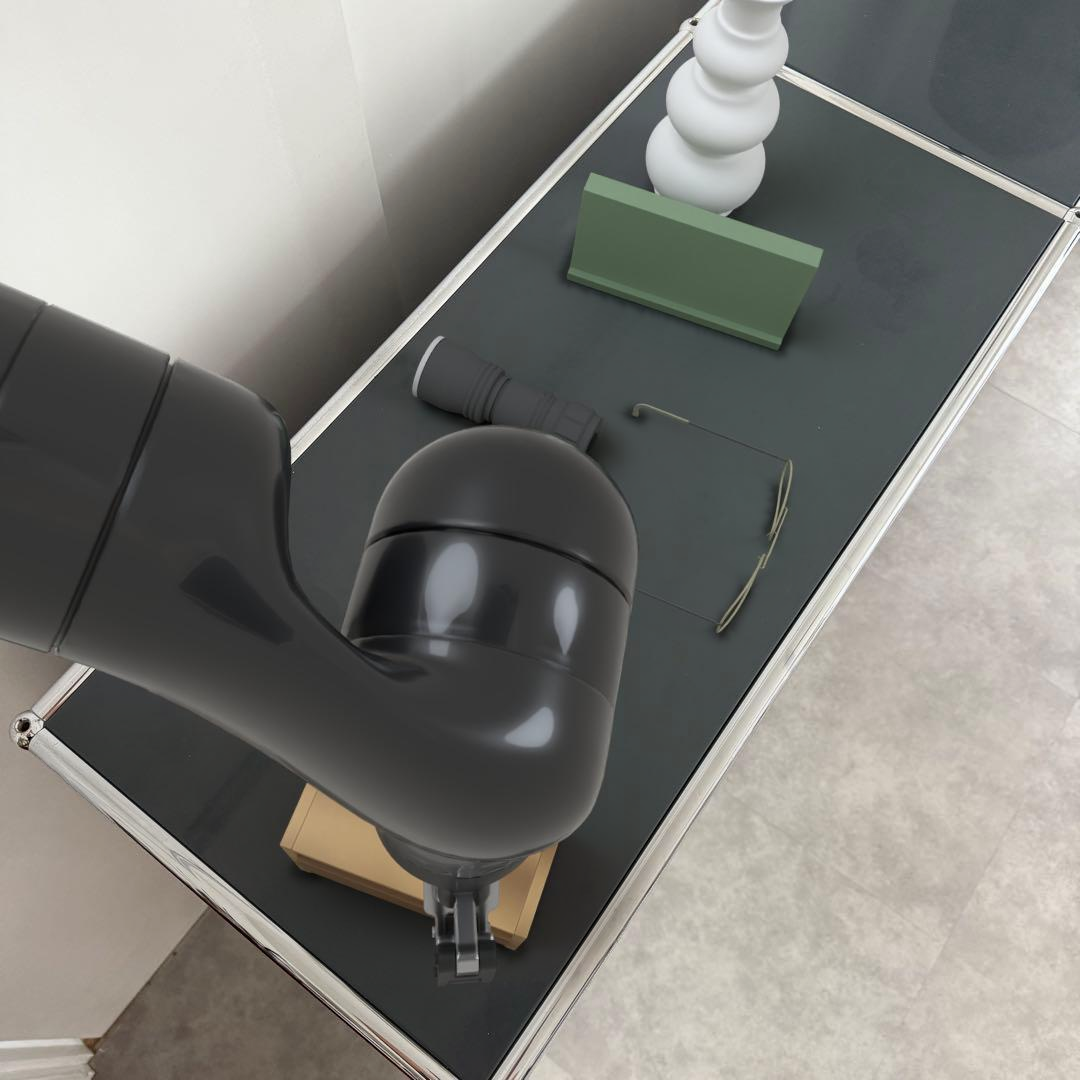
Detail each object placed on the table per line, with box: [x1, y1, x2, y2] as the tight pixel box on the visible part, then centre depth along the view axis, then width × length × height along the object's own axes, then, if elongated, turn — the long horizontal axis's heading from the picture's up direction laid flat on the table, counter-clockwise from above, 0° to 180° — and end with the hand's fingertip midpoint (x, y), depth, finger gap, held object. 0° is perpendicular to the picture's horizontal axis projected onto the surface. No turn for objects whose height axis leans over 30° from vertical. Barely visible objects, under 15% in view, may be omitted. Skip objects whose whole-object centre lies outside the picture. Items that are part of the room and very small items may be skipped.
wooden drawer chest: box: [279, 782, 559, 951], centre depth 73 cm, size 9×16×11 cm, turn 71°
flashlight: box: [411, 335, 604, 455], centre depth 90 cm, size 15×5×5 cm, turn 64°
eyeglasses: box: [631, 403, 793, 634], centre depth 88 cm, size 16×15×5 cm
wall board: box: [566, 172, 824, 352], centre depth 95 cm, size 5×20×11 cm, turn 71°
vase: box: [645, 0, 794, 217], centre depth 93 cm, size 11×11×25 cm
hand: (454, 840), depth 57 cm, fingers open, 8 cm apart
